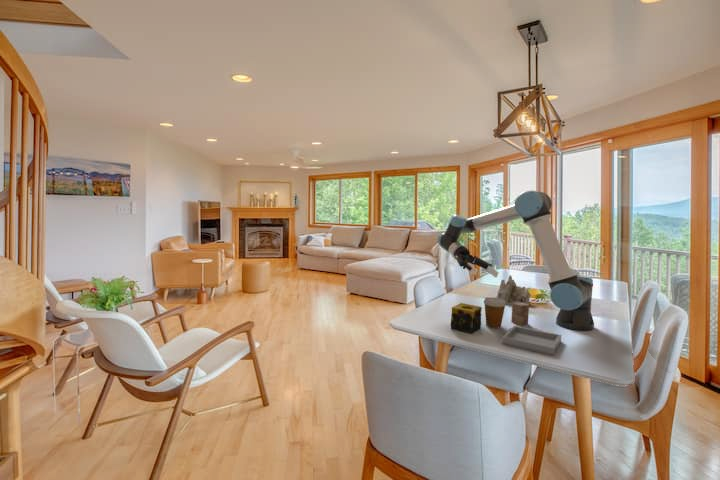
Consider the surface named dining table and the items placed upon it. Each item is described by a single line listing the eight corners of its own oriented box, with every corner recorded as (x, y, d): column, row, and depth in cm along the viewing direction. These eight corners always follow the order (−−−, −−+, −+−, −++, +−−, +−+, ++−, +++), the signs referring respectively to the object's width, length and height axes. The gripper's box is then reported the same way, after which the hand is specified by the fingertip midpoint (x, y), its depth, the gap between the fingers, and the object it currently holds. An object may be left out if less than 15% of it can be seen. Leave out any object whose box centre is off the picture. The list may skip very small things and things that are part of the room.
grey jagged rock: (490, 300, 213) (494, 274, 212) (511, 298, 220) (514, 274, 219) (512, 308, 200) (515, 281, 198) (533, 307, 207) (537, 280, 205)
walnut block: (519, 320, 175) (520, 302, 174) (527, 324, 170) (529, 304, 169) (511, 321, 173) (512, 303, 172) (519, 325, 168) (520, 305, 168)
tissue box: (459, 324, 168) (460, 302, 167) (481, 329, 162) (482, 306, 161) (449, 329, 160) (450, 306, 159) (472, 334, 154) (473, 311, 153)
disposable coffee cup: (506, 330, 161) (508, 303, 160) (483, 328, 163) (485, 301, 162) (502, 323, 170) (504, 297, 169) (481, 321, 172) (482, 296, 171)
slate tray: (560, 341, 148) (561, 335, 148) (553, 355, 133) (553, 348, 133) (513, 332, 158) (514, 325, 158) (501, 343, 144) (502, 336, 144)
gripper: (473, 260, 196) (501, 282, 180) (438, 256, 184) (464, 279, 167) (479, 248, 194) (508, 269, 177) (443, 243, 182) (471, 265, 165)
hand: (487, 274), depth 172 cm, fingers open, 13 cm apart
